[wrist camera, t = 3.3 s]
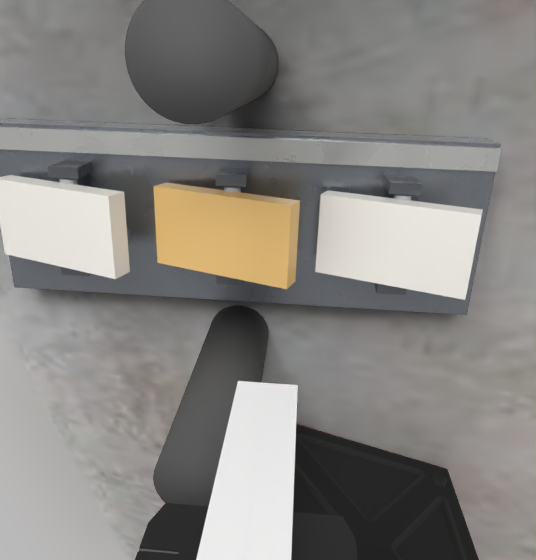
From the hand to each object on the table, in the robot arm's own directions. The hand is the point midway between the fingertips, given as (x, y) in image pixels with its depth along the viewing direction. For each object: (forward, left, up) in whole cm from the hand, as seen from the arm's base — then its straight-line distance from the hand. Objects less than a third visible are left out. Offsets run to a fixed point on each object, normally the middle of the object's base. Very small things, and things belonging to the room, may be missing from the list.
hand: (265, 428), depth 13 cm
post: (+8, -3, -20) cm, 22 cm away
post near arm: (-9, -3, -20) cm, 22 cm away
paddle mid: (0, -3, -16) cm, 17 cm away
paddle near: (0, +6, -16) cm, 17 cm away
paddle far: (0, -12, -16) cm, 20 cm away
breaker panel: (0, -3, -20) cm, 21 cm away
